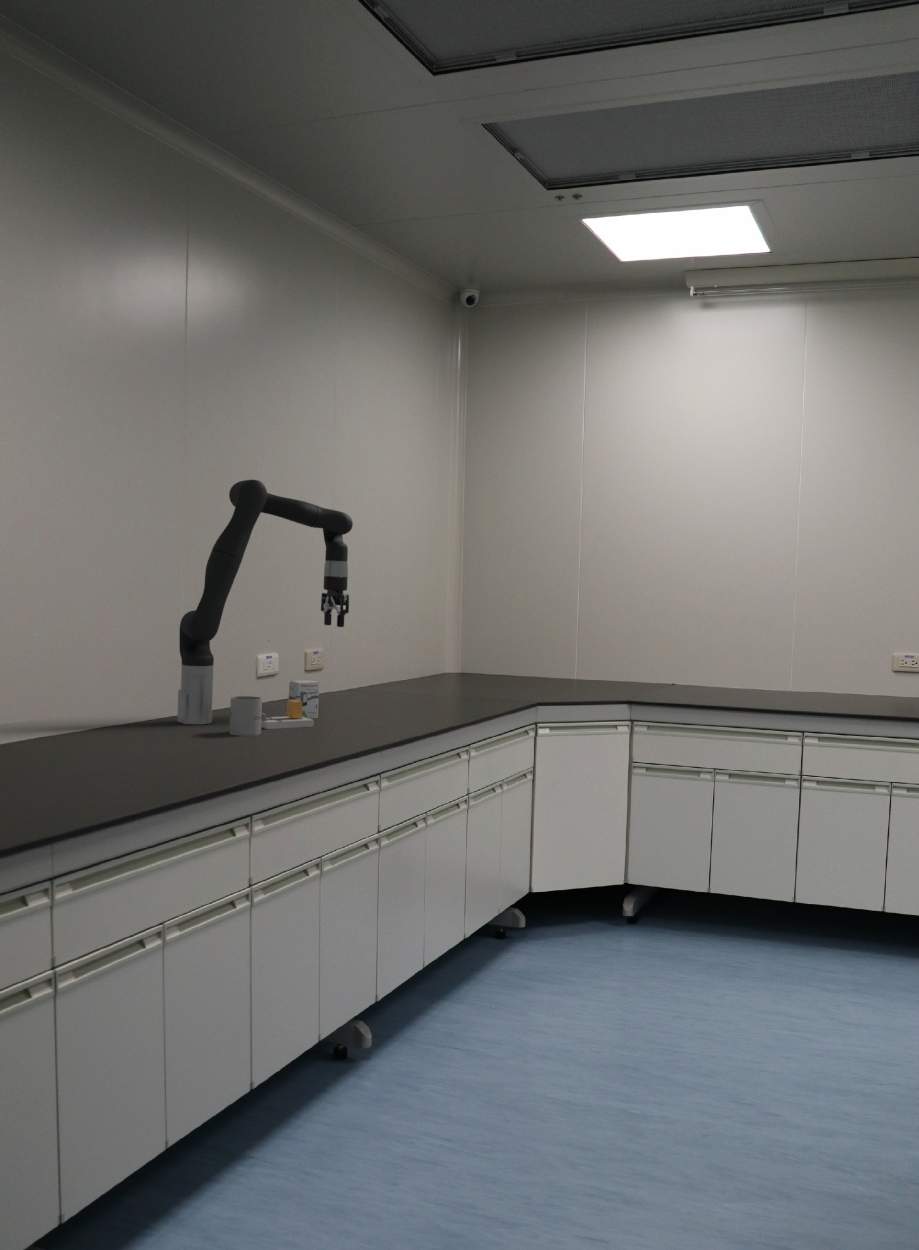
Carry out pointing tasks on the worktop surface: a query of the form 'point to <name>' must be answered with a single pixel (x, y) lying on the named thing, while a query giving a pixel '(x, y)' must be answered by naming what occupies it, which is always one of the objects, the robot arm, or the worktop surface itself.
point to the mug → (245, 715)
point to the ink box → (305, 696)
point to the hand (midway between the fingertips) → (333, 626)
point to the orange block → (294, 709)
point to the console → (284, 722)
